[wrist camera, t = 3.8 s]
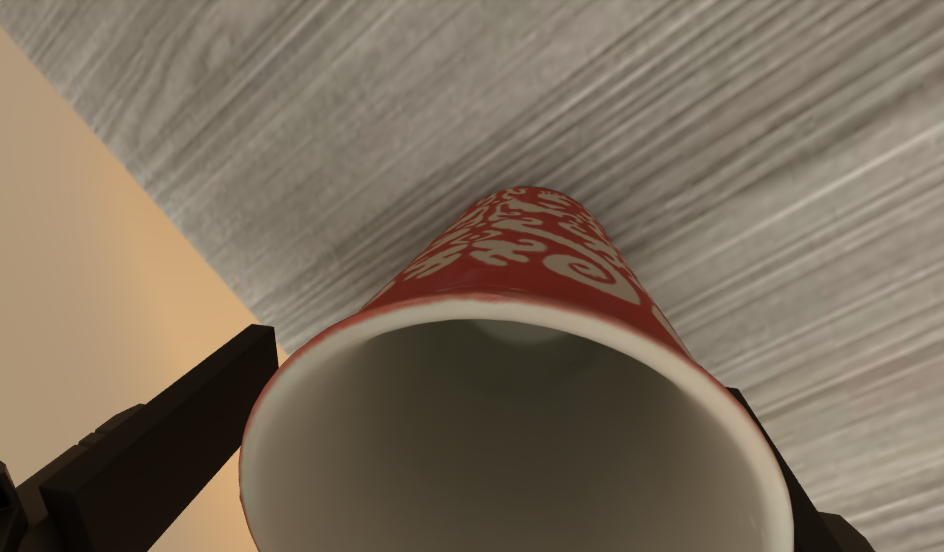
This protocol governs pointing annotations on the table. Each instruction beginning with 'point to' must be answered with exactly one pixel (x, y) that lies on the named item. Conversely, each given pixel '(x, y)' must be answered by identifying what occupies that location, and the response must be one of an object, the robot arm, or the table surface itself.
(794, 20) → the table surface
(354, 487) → the mug
